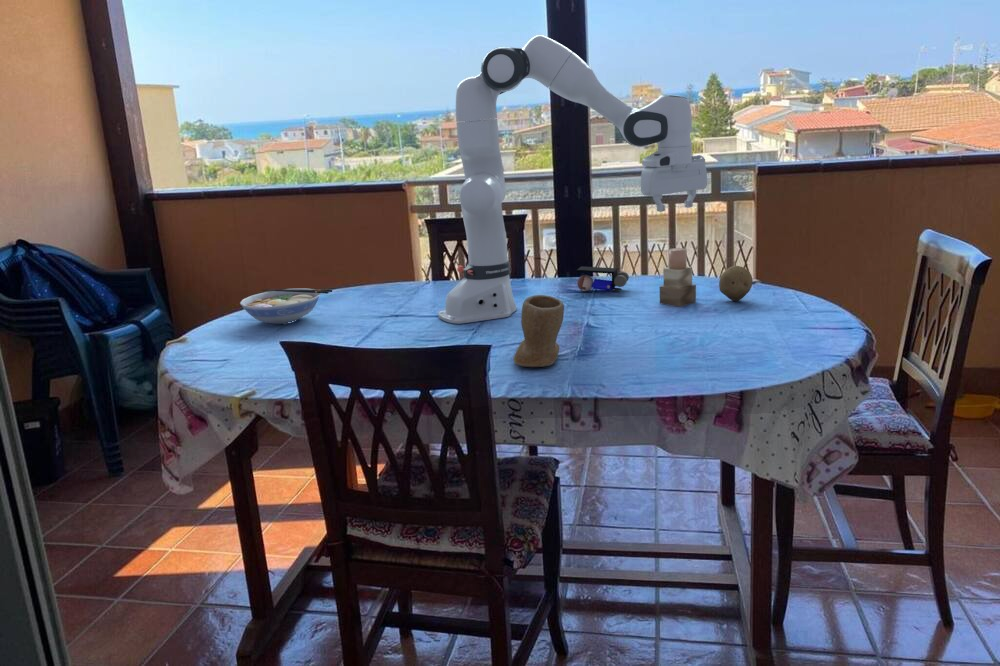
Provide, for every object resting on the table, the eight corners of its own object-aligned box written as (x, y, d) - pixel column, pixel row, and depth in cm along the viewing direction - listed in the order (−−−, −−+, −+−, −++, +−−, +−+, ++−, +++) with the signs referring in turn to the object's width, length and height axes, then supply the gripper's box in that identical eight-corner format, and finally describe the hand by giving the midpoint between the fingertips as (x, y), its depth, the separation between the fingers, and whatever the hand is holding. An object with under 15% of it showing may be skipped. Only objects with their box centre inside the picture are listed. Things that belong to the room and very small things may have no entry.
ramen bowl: (223, 330, 231) (219, 302, 228) (276, 309, 250) (273, 284, 248) (292, 335, 220) (288, 306, 218) (342, 313, 240) (339, 286, 237)
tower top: (678, 288, 220) (678, 270, 219) (663, 285, 224) (663, 268, 223) (692, 284, 223) (692, 267, 222) (676, 282, 228) (676, 264, 226)
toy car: (628, 293, 246) (579, 287, 250) (630, 268, 244) (581, 263, 248) (624, 298, 240) (574, 292, 244) (626, 273, 238) (576, 267, 242)
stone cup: (562, 371, 175) (559, 304, 171) (509, 371, 178) (504, 305, 174) (571, 350, 190) (568, 288, 185) (521, 350, 192) (517, 289, 188)
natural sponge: (751, 305, 216) (752, 269, 213) (717, 305, 219) (717, 269, 216) (752, 297, 224) (753, 262, 222) (719, 297, 227) (719, 262, 224)
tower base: (679, 307, 220) (679, 289, 219) (659, 303, 226) (659, 286, 224) (695, 302, 224) (695, 284, 223) (675, 298, 230) (675, 281, 228)
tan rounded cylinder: (676, 269, 219) (676, 251, 218) (665, 267, 223) (665, 249, 222) (690, 267, 221) (690, 249, 220) (678, 265, 225) (679, 247, 224)
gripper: (697, 153, 221) (696, 204, 225) (636, 160, 213) (637, 212, 216) (712, 154, 216) (712, 205, 220) (651, 161, 207) (652, 214, 211)
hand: (674, 209), depth 218 cm, fingers open, 8 cm apart
